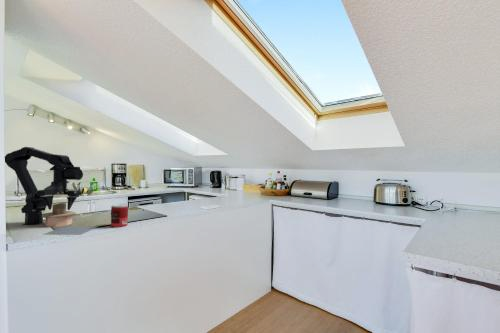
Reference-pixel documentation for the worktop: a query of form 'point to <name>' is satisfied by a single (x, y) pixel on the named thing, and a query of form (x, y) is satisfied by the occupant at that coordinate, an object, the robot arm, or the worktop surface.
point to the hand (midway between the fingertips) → (59, 209)
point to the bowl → (58, 221)
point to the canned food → (119, 215)
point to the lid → (58, 211)
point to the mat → (71, 230)
